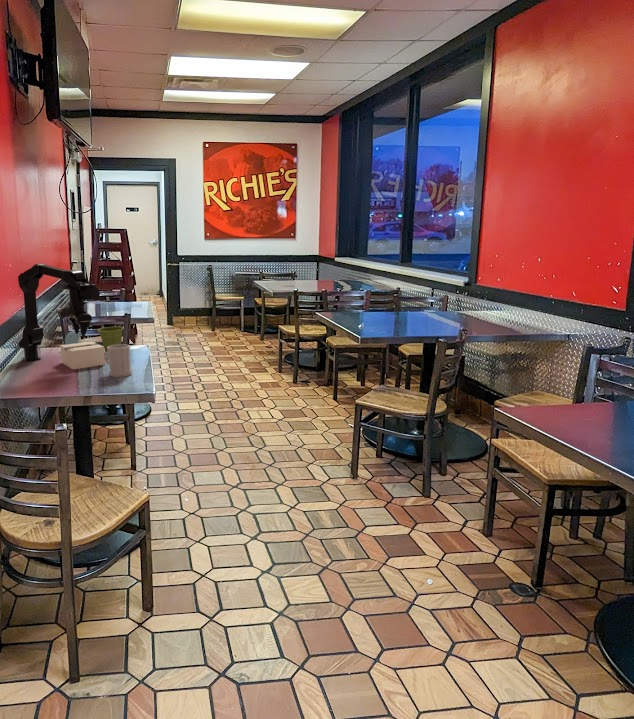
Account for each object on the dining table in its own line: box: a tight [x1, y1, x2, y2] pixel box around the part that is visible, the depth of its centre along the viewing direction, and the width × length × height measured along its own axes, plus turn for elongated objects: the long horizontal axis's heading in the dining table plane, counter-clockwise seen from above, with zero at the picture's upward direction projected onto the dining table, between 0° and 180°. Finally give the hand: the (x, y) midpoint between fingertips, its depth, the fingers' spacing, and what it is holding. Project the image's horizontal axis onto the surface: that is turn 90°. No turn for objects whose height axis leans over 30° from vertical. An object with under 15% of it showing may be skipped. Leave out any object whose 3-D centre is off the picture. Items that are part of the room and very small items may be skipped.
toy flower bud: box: [64, 331, 83, 345], centre depth 315 cm, size 7×9×12 cm
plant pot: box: [97, 326, 124, 353], centre depth 306 cm, size 12×12×11 cm
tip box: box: [59, 341, 106, 370], centre depth 282 cm, size 16×14×8 cm
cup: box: [104, 343, 133, 378], centre depth 261 cm, size 10×9×12 cm
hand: (80, 335), depth 280 cm, fingers open, 9 cm apart
